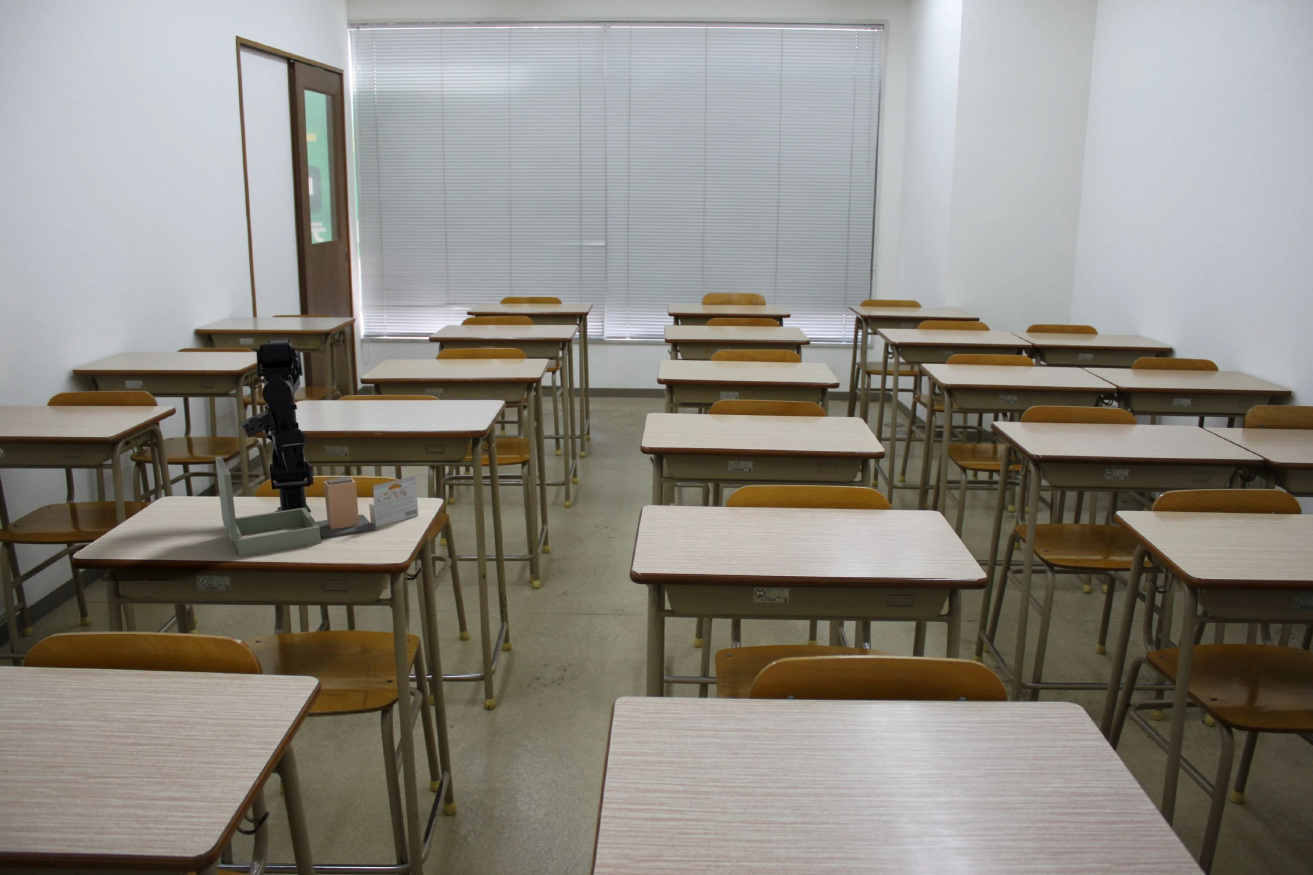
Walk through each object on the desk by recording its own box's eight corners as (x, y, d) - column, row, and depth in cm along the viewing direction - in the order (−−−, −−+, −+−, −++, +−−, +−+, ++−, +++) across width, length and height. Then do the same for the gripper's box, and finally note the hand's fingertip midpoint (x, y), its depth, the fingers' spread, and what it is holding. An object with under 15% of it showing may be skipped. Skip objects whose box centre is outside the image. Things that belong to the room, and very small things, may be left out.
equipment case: (224, 535, 209) (215, 457, 205) (306, 522, 218) (299, 447, 214) (233, 557, 196) (224, 474, 192) (320, 542, 204) (313, 463, 200)
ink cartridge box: (370, 525, 216) (366, 483, 213) (413, 514, 224) (410, 473, 221) (375, 527, 214) (372, 485, 212) (419, 516, 222) (416, 475, 220)
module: (327, 524, 214) (323, 479, 212) (355, 520, 217) (351, 475, 215) (331, 529, 211) (327, 484, 208) (359, 525, 214) (355, 480, 211)
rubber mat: (313, 524, 216) (313, 522, 216) (363, 516, 221) (362, 514, 221) (323, 538, 207) (323, 536, 207) (374, 530, 212) (374, 527, 212)
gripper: (235, 397, 213) (242, 466, 216) (246, 409, 197) (254, 483, 201) (288, 393, 219) (294, 459, 222) (303, 404, 203) (309, 476, 206)
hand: (287, 469), depth 212 cm, fingers open, 9 cm apart
